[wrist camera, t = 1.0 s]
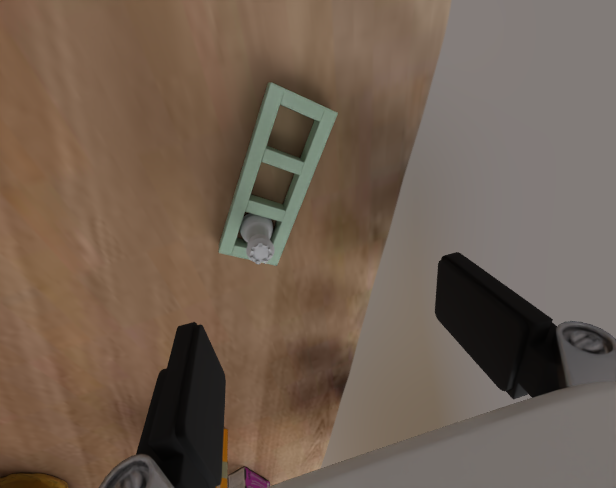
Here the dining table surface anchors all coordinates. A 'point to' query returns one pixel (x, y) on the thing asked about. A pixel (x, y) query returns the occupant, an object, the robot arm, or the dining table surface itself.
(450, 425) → the robot arm
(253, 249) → the rook chess piece
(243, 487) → the candy bar box
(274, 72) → the dining table surface
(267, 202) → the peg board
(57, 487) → the pitcher
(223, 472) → the orange juice
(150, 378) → the dining table surface
